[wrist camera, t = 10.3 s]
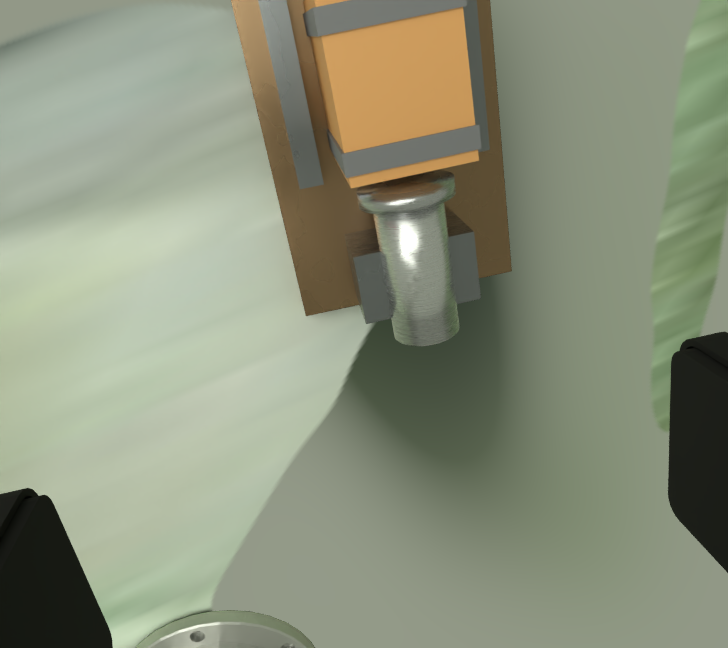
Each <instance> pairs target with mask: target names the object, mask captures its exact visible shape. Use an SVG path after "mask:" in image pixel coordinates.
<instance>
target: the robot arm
mask: <svg viewBox="0 0 728 648" xmlns="http://www.w3.org/2000/svg"><path fill="white" fill-rule="evenodd" d="M669 439H670V440H669V479H668V497H669V501H670V505H671V508H672V510H673V512H674V514H675V516H676V517H677V518H678V519H679V521H680V522H681V523H682V524H683V525H684V526H685V527H686V528H687V529H688V530H689V531H690V533H691V534H692V535H693V536H694V537H695V538H696V539H697V540H698V541H699V542H700V543H701V544H702V545H703V547H704V548H706V550H707V551H708V552H709V553H710V554H711V555H712V556H713V557H714V558H715V560H716V561H717V562H718V563H719V564H720V565H721V566H722V567H723V568H724V569H725V570H726V571H727V572H728V333H727V332H719V333H715V334H711V335H706V336H701V337H697V338H692V339H688V340H686V341H684V342H683V343H682V345H681V347H680V351H678V352H676V353H674V355H673V357H672V361H671V394H670V436H669ZM0 648H113V647H112V637H111V633H110V630H109V627H108V625H107V623H106V621H105V618H104V616H103V614H102V612H101V610H100V607H99V605H98V603H97V601H96V598H95V596H94V594H93V592H92V589H91V587H90V585H89V583H88V580H87V578H86V576H85V574H84V571H83V569H82V567H81V565H80V562H79V560H78V558H77V556H76V553H75V551H74V549H73V547H72V545H71V542H70V540H69V538H68V536H67V533H66V531H65V529H64V527H63V524H62V522H61V520H60V518H59V515H58V513H57V511H56V509H55V506H54V504H53V502H52V501H51V499H50V498H49V497H48V496H46V495H41V496H38V495H37V493H36V492H35V491H34V490H33V489H29V488H26V489H21V490H17V491H12V492H8V493H4V494H0ZM136 648H315V647H314V645H313V644H312V642H311V641H310V640H309V639H308V638H307V637H306V636H305V635H304V634H303V633H302V632H301V631H299V630H298V629H296V628H294V627H293V626H291V625H289V624H288V623H286V622H284V621H281V620H279V619H276V618H273V617H271V616H268V615H263V614H259V613H254V612H248V611H234V610H227V611H212V612H206V613H201V614H196V615H191V616H188V617H186V618H183V619H180V620H177V621H174V622H171V623H169V624H168V625H166V626H164V627H162V628H160V629H158V630H156V631H155V632H153V633H152V634H151V635H149V636H148V637H147V638H146V639H144V640H143V641H142V642H140V643H139V645H138V646H137V647H136Z"/></svg>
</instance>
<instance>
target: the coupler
mask: <svg viewBox="0 0 728 648" xmlns="http://www.w3.org/2000/svg"><path fill="white" fill-rule="evenodd" d="M303 5H304V10H305V13H304V14H303V18H304V23H305V28H306V33H307V36H310V40H311V45H312V50H313V55H314V60H315V65H316V70H317V75H318V80H319V84H320V89H321V94H322V99H323V104H324V109H325V114H326V119H327V124H328V129H327V130H326V131H327V136H328V141H329V146H330V150H331V151H332V153H333V155H334V158H335V160H336V162H337V164H338V166H339V167H340V169H341V171H342V173H343V175H344V177H345V178H346V180H347V182H348V184H349V186H350V188H356V187H360V186H365V185H370V184H374V183H379V182H383V181H388V180H392V179H397V178H402V177H406V176H411V175H415V174H420V173H425V172H429V171H434V170H438V169H443V168H448V167H452V166H457V165H461V164H466V163H471V162H475V161H479V155H478V149H482V148H481V138H480V128H479V124H476V123H475V117H474V107H473V98H472V88H471V79H470V69H469V59H468V50H467V40H466V31H465V21H464V12H463V7H464V6H467V1H466V0H305V1H304V2H303Z"/></svg>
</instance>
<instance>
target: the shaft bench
mask: <svg viewBox="0 0 728 648" xmlns="http://www.w3.org/2000/svg"><path fill="white" fill-rule="evenodd" d="M304 1H305V0H231V2H232V7H233V11H234V15H235V19H236V24H237V28H238V32H239V36H240V40H241V45H242V49H243V53H244V57H245V61H246V66H247V70H248V74H249V78H250V82H251V87H252V91H253V95H254V99H255V103H256V108H257V112H258V116H259V120H260V124H261V129H262V133H263V137H264V141H265V145H266V150H267V154H268V158H269V162H270V166H271V171H272V175H273V179H274V183H275V187H276V192H277V196H278V200H279V204H280V208H281V213H282V217H283V221H284V225H285V230H286V234H287V238H288V242H289V246H290V251H291V255H292V259H293V263H294V267H295V272H296V276H297V280H298V284H299V288H300V293H301V297H302V301H303V305H304V309H305V314H306V316H309V315H314V314H318V313H323V312H327V311H332V310H336V309H341V308H346V307H350V306H355V305H360V308H361V310H362V313H363V316H364V319H365V322H366V324H368V323H373V322H377V321H382V320H387V319H392V324H393V330H394V336H395V338H396V340H397V341H399V342H401V343H403V344H406V345H411V346H428V345H434V344H438V343H441V342H444V341H446V340H448V339H450V338H452V337H453V336H454V335H455V334H456V333H457V332H458V331H459V319H458V311H457V304H459V303H463V302H468V301H473V300H477V299H481V294H480V284H479V278H483V277H487V276H492V275H496V274H501V273H505V272H510V271H512V269H511V257H510V244H509V232H508V219H507V206H506V196H505V195H506V194H505V181H504V170H503V157H502V144H501V132H500V119H499V106H498V94H497V82H496V69H495V57H494V44H493V31H492V19H491V7H490V0H466V1H467V6H464V7H463V12H464V21H465V31H466V40H467V50H468V59H469V69H470V79H471V88H472V98H473V107H474V117H475V123H476V124H479V128H480V138H481V148H482V149H478V155H479V161H475V162H471V163H466V164H461V165H457V166H452V167H448V168H443V169H438V170H434V171H429V172H425V173H420V174H415V175H411V176H406V177H402V178H397V179H392V180H388V181H383V182H379V183H374V184H370V185H365V186H360V187H356V188H350V186H349V184H348V182H347V180H346V178H345V177H344V175H343V173H342V171H341V169H340V167H339V166H338V164H337V162H336V160H335V158H334V155H333V153H332V151H331V150H330V146H329V141H328V136H327V131H326V130H327V129H328V124H327V119H326V114H325V109H324V104H323V99H322V94H321V89H320V84H319V80H318V75H317V70H316V65H315V60H314V55H313V50H312V45H311V40H310V36H307V33H306V28H305V23H304V18H303V14H304V13H305V10H304V5H303V2H304Z"/></svg>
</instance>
